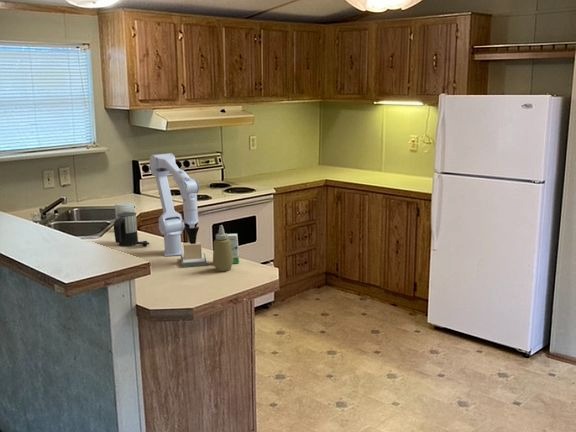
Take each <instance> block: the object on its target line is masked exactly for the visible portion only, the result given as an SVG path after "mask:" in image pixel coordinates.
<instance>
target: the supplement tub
mask: <svg viewBox="0 0 576 432" xmlns="http://www.w3.org/2000/svg"><path fill="white" fill-rule="evenodd" d="M114 210H115V211H114V212H115V213H114V214H115V220H117V219H118V216H117V214H119V213H124V212H135V204H134V202H131V201H121V202H117V203H115V205H114Z"/></svg>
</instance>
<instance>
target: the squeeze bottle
mask: <svg viewBox="0 0 576 432" xmlns="http://www.w3.org/2000/svg"><path fill="white" fill-rule="evenodd" d="M228 234H229V233H227V232H226V233H225V229H224V226H223V224H221V225H220V224H219V228H218V233H216V234H215V239H214V240H213V251H212V262H213V265H214V268H215V270H216V271H218V272H227V271H231V270H232V267H233V264H232V263H233V255H232V249H231V242H230V240H229V239H227V238H228Z"/></svg>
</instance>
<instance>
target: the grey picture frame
mask: <svg viewBox="0 0 576 432" xmlns="http://www.w3.org/2000/svg"><path fill="white" fill-rule="evenodd" d="M180 261H181V267H182V269H183V268H194V267H206V266H208V261H207V257H206V253H204V252H202V258H199V259H186V260H185V258H184V253H183V255H180Z"/></svg>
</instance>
